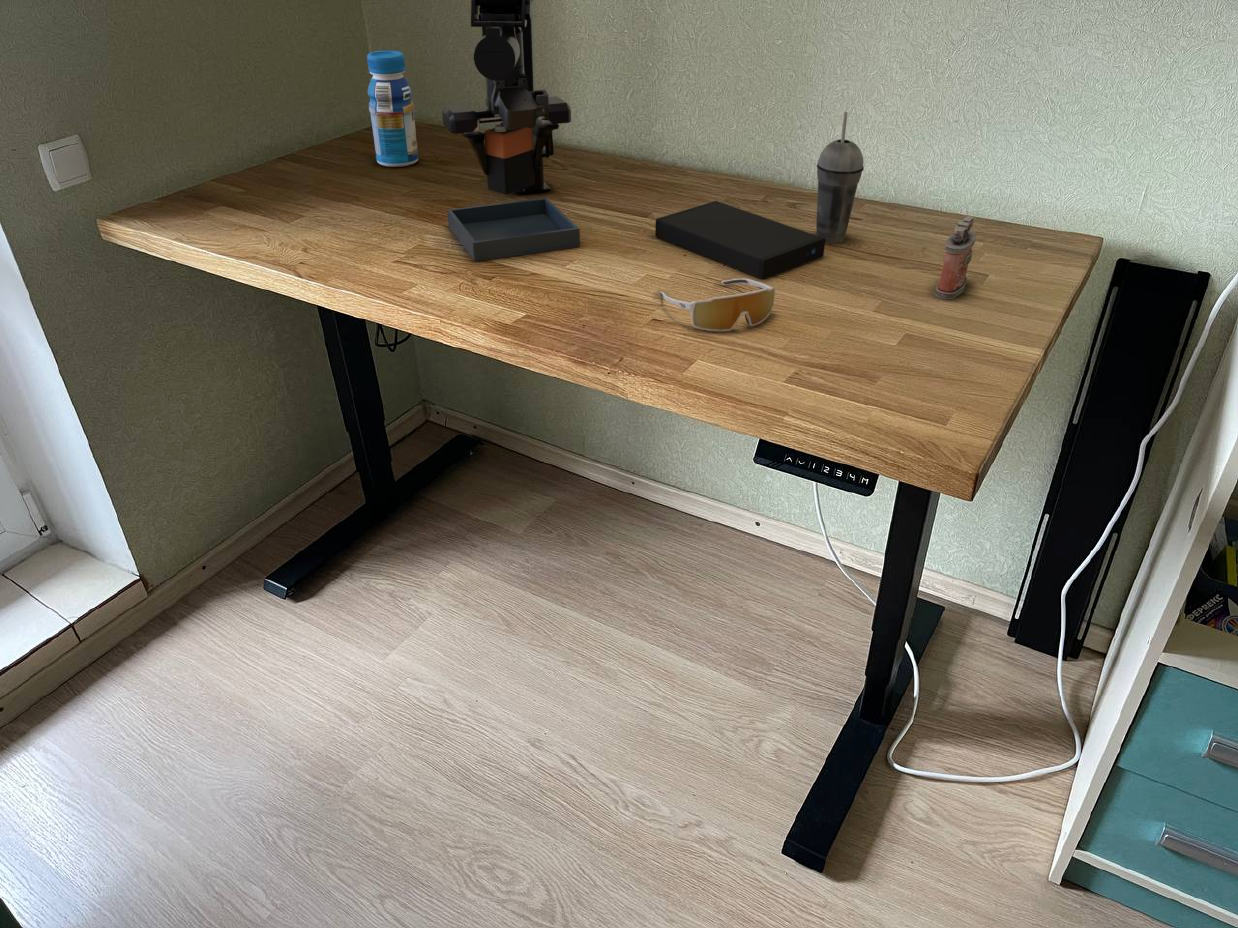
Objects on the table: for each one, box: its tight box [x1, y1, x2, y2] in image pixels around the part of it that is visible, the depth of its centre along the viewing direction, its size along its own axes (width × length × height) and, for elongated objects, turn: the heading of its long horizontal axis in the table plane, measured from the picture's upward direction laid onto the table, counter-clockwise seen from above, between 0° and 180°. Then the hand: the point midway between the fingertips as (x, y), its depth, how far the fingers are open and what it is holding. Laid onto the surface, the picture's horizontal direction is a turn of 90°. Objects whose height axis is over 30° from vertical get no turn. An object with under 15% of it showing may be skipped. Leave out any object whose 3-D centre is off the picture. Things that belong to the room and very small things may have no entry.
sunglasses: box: [659, 277, 776, 332], centre depth 131 cm, size 14×15×5 cm
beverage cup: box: [815, 111, 865, 244], centre depth 150 cm, size 7×7×20 cm
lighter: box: [935, 215, 977, 300], centre depth 136 cm, size 8×3×10 cm, turn 148°
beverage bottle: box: [366, 50, 419, 168], centre depth 183 cm, size 8×8×20 cm
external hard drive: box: [654, 200, 826, 280], centre depth 151 cm, size 14×23×3 cm, turn 41°
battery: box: [483, 123, 535, 195], centre depth 147 cm, size 4×7×10 cm, turn 143°
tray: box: [446, 197, 581, 262], centre depth 154 cm, size 16×17×3 cm
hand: (510, 171), depth 149 cm, fingers closed on battery, 7 cm apart
